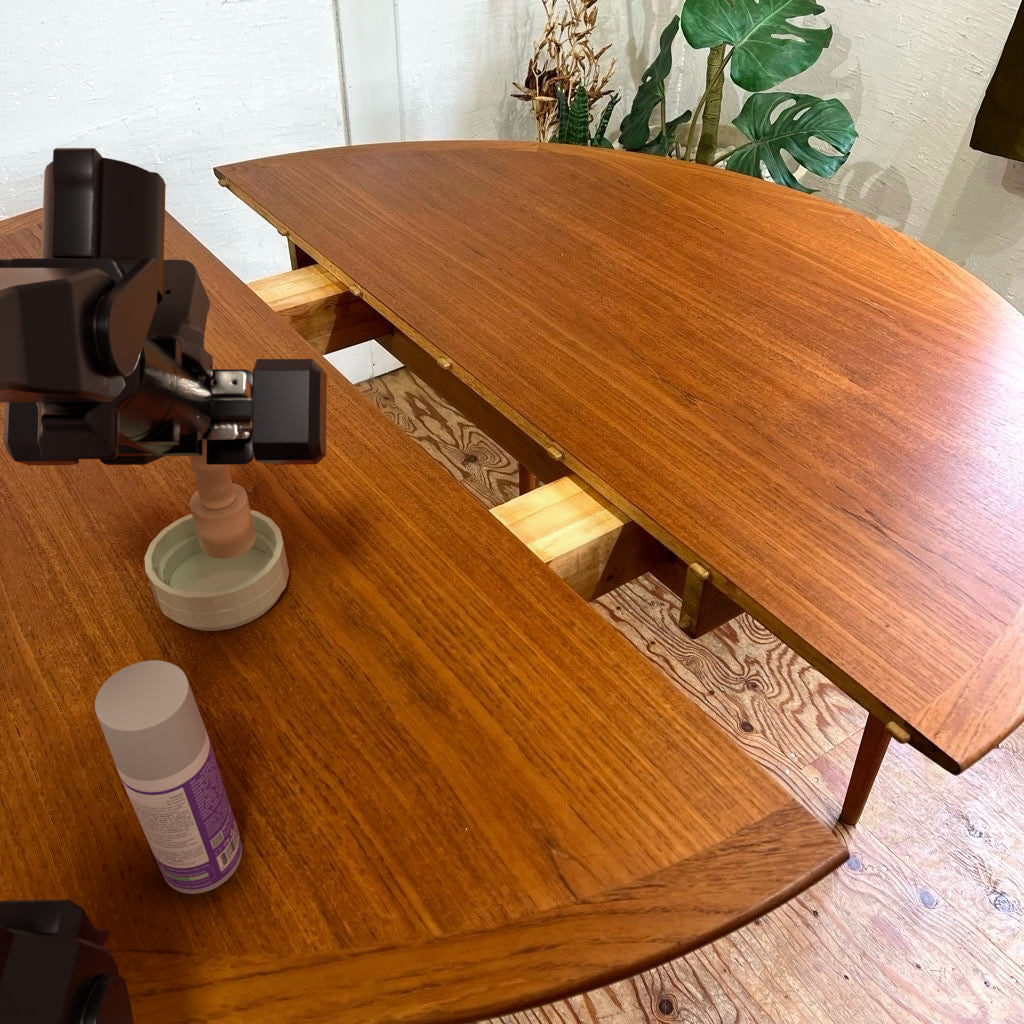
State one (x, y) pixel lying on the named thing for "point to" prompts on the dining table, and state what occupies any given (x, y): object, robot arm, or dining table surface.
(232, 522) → the pestle
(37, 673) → the dining table surface
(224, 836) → the container
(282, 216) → the dining table surface
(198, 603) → the bowl
